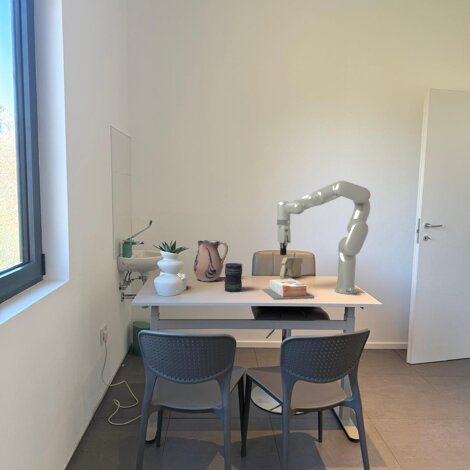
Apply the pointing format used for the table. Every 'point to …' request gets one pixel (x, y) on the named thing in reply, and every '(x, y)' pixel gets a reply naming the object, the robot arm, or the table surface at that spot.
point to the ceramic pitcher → (209, 260)
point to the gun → (291, 267)
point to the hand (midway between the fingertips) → (283, 254)
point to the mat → (277, 296)
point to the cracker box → (287, 287)
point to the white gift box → (182, 281)
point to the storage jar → (233, 277)
